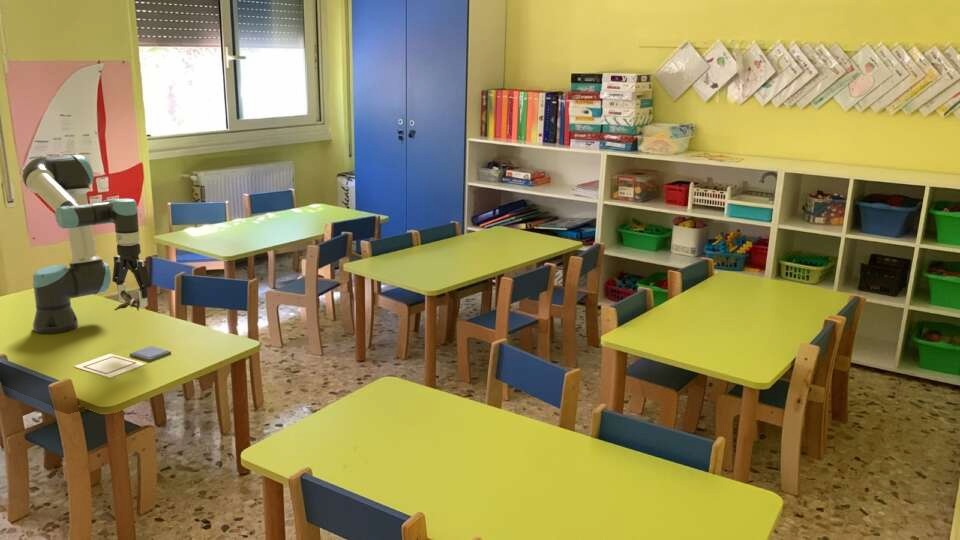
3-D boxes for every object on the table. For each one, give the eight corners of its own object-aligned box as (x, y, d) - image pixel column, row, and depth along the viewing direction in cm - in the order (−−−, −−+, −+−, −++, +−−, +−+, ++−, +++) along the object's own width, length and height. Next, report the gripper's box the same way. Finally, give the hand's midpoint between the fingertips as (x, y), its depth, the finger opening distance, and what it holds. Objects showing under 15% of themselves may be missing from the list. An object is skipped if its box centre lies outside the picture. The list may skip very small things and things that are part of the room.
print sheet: (73, 367, 264) (73, 365, 264) (110, 354, 276) (110, 353, 276) (110, 378, 256) (109, 376, 256) (145, 364, 268) (145, 363, 268)
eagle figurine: (146, 302, 284) (122, 297, 284) (143, 290, 278) (118, 284, 278) (136, 319, 279) (112, 313, 279) (133, 306, 273) (107, 300, 273)
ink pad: (129, 356, 275) (129, 352, 275) (151, 348, 283) (150, 345, 282) (149, 361, 271) (149, 358, 270) (170, 353, 278) (170, 350, 278)
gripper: (97, 241, 277) (103, 301, 283) (141, 249, 267) (146, 312, 273) (115, 237, 284) (121, 296, 289) (159, 245, 274) (164, 306, 279)
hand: (133, 304), depth 281 cm, fingers closed on eagle figurine, 10 cm apart
